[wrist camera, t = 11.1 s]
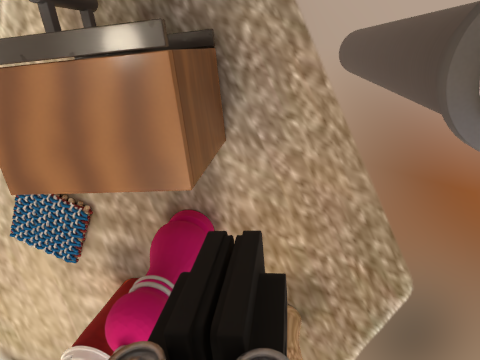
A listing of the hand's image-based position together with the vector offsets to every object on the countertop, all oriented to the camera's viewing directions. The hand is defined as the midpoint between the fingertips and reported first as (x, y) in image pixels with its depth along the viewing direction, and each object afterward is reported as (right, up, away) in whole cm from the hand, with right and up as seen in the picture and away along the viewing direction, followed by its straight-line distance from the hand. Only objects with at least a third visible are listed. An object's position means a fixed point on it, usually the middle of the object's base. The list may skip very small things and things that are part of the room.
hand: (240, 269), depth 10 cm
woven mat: (-26, -3, +35) cm, 44 cm away
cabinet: (-10, +12, +26) cm, 31 cm away
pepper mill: (-6, -4, +33) cm, 33 cm away
